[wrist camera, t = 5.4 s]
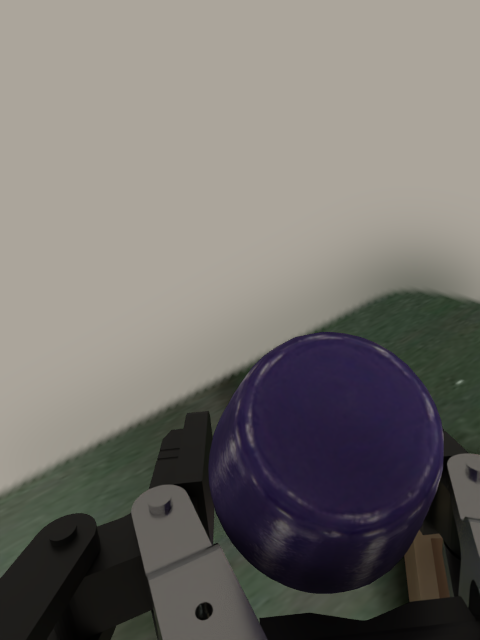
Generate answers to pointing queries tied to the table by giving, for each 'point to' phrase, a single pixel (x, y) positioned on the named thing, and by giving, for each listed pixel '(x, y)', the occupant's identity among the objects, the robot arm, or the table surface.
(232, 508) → the toy lamp
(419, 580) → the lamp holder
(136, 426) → the table surface
